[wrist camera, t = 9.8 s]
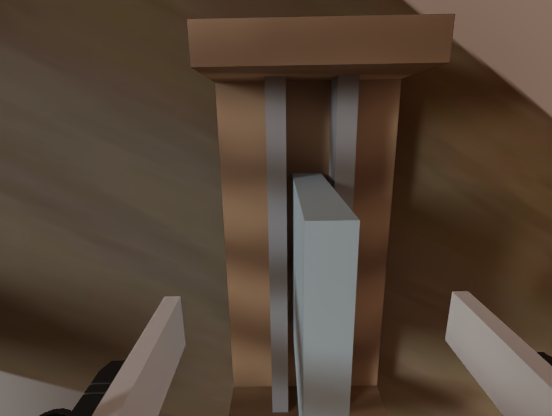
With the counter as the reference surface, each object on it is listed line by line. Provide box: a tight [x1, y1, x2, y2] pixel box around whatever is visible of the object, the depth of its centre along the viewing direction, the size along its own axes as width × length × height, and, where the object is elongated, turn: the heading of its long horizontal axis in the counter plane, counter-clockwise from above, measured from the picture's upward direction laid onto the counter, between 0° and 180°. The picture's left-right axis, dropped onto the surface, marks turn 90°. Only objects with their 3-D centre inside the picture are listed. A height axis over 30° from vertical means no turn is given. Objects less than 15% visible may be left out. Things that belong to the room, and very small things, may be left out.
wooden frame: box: [187, 14, 455, 416], centre depth 22 cm, size 28×12×8 cm, turn 1°
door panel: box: [292, 173, 360, 416], centre depth 19 cm, size 12×3×11 cm, turn 1°
